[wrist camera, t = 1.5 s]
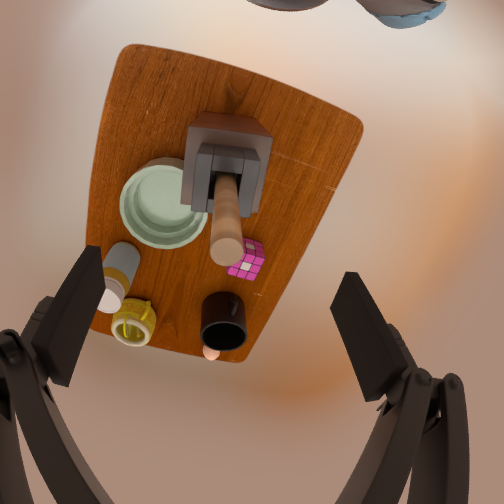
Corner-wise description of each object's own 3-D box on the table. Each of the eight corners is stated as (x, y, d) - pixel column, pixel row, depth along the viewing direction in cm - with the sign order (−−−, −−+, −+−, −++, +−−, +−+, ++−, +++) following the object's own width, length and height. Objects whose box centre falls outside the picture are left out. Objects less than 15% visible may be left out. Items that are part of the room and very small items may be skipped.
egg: (203, 347, 75) (203, 363, 71) (203, 337, 73) (202, 353, 68) (219, 347, 76) (219, 364, 71) (219, 337, 74) (220, 354, 69)
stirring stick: (217, 162, 30) (211, 236, 16) (236, 164, 30) (246, 239, 17) (215, 179, 31) (208, 264, 17) (233, 181, 31) (240, 267, 18)
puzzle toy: (251, 264, 62) (253, 281, 57) (226, 257, 60) (226, 273, 55) (262, 242, 59) (265, 258, 54) (235, 234, 57) (237, 250, 53)
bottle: (147, 253, 58) (130, 301, 45) (130, 272, 60) (112, 320, 48) (121, 233, 55) (97, 278, 42) (105, 254, 57) (81, 299, 44)
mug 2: (256, 289, 66) (260, 319, 57) (234, 325, 71) (236, 355, 63) (214, 276, 63) (213, 307, 55) (196, 315, 69) (194, 345, 60)
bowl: (130, 153, 46) (119, 162, 41) (214, 160, 49) (213, 170, 44) (130, 228, 55) (121, 244, 49) (205, 236, 57) (203, 252, 52)
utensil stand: (202, 111, 44) (180, 133, 23) (255, 118, 45) (282, 147, 24) (196, 160, 49) (173, 224, 28) (246, 166, 50) (262, 234, 29)
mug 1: (144, 331, 71) (136, 367, 61) (109, 310, 66) (97, 345, 56) (171, 307, 67) (164, 345, 56) (133, 282, 62) (120, 319, 52)
